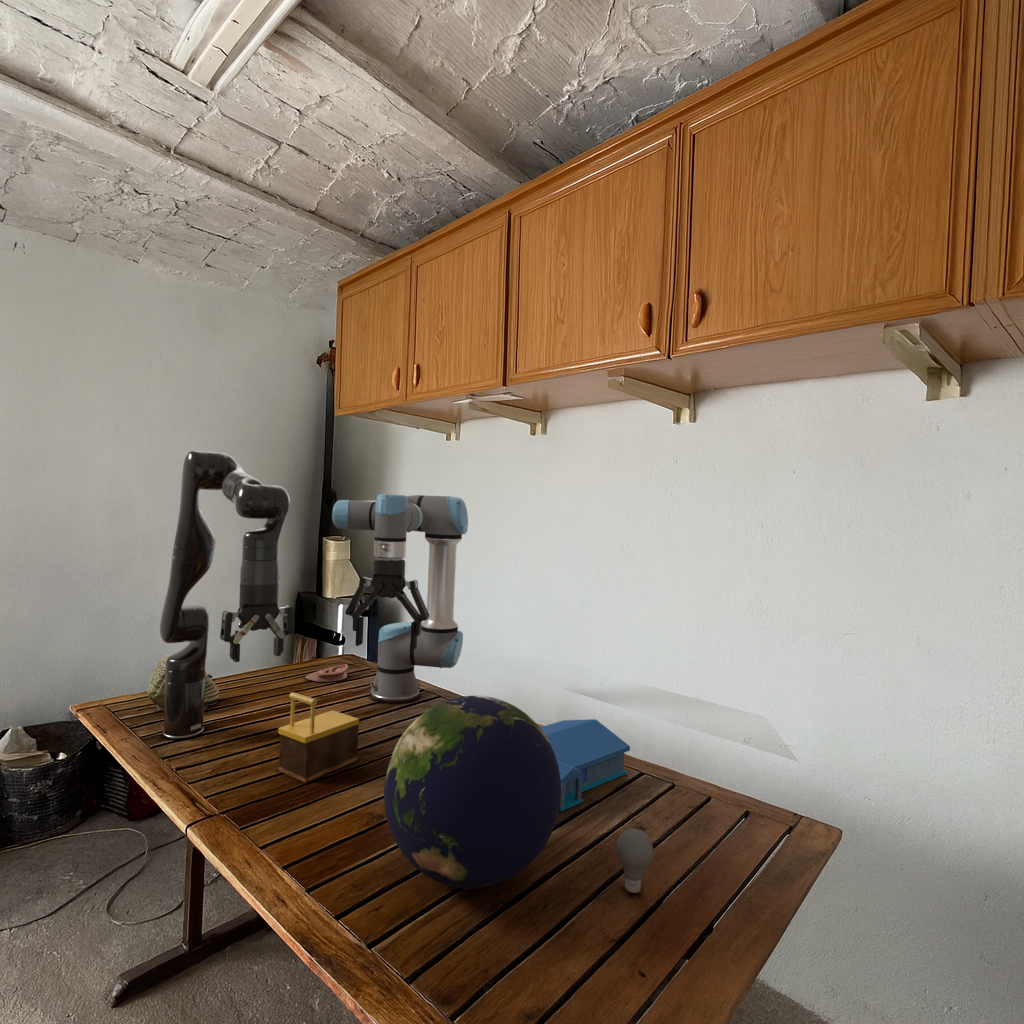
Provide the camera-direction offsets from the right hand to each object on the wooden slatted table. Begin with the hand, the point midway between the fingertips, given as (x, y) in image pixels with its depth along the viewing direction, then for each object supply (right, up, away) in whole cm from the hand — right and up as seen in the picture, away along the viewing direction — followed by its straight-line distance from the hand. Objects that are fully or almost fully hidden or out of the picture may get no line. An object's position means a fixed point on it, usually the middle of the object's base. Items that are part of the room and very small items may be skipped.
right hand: (386, 646), depth 152 cm
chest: (-15, -27, -3) cm, 31 cm away
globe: (+23, -30, -44) cm, 58 cm away
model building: (+37, -30, -7) cm, 48 cm away
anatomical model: (-34, -25, +67) cm, 80 cm away
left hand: (-23, +2, -20) cm, 31 cm away
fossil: (-66, -24, +33) cm, 77 cm away
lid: (-15, -18, -3) cm, 24 cm away
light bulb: (+50, -31, -46) cm, 75 cm away
